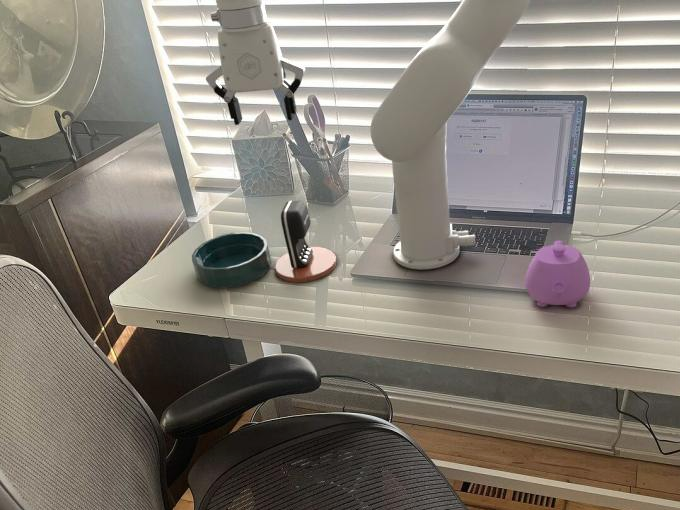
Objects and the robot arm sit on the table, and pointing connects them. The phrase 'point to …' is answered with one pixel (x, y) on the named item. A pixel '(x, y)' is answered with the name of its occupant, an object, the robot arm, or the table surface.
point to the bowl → (231, 259)
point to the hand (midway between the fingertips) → (265, 120)
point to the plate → (317, 267)
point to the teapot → (558, 276)
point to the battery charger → (296, 232)
